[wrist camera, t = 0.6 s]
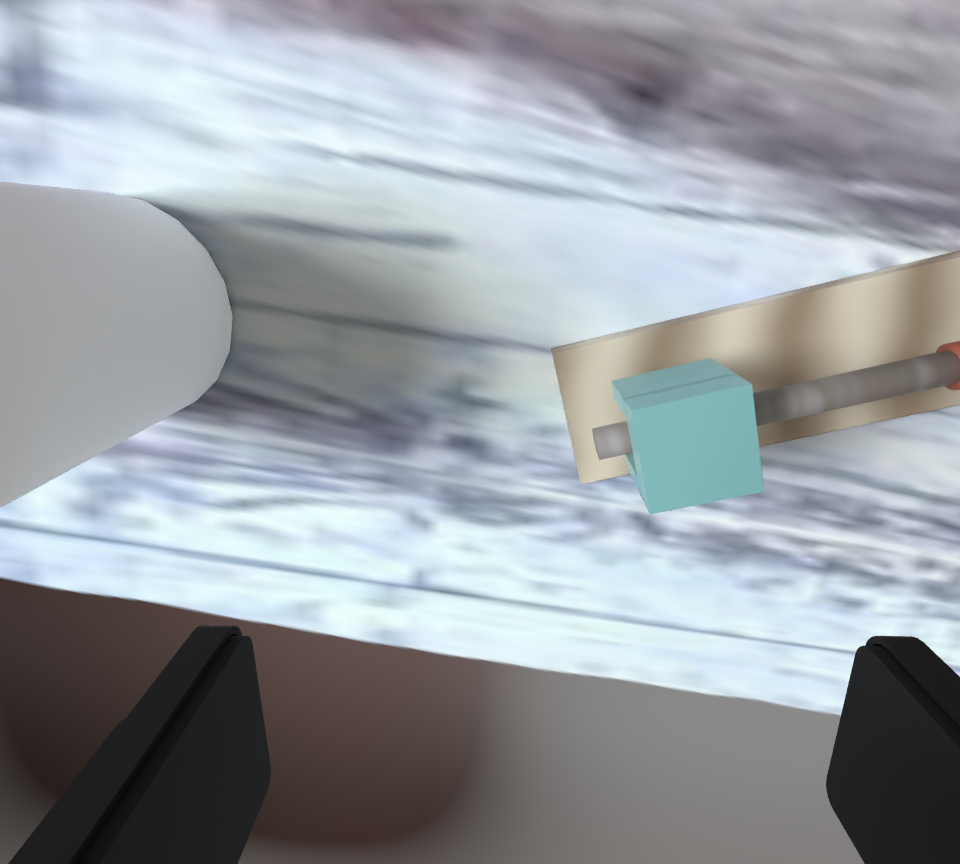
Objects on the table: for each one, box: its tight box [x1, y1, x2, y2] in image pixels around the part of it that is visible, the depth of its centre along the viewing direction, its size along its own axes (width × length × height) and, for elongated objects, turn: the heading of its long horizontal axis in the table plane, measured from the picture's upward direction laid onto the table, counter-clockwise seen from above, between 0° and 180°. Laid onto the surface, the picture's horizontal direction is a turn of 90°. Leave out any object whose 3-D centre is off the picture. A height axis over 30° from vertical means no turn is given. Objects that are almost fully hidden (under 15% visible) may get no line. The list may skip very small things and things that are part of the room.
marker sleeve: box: [611, 358, 764, 514], centre depth 28 cm, size 5×5×5 cm
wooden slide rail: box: [551, 251, 960, 484], centre depth 30 cm, size 26×8×8 cm, turn 104°
